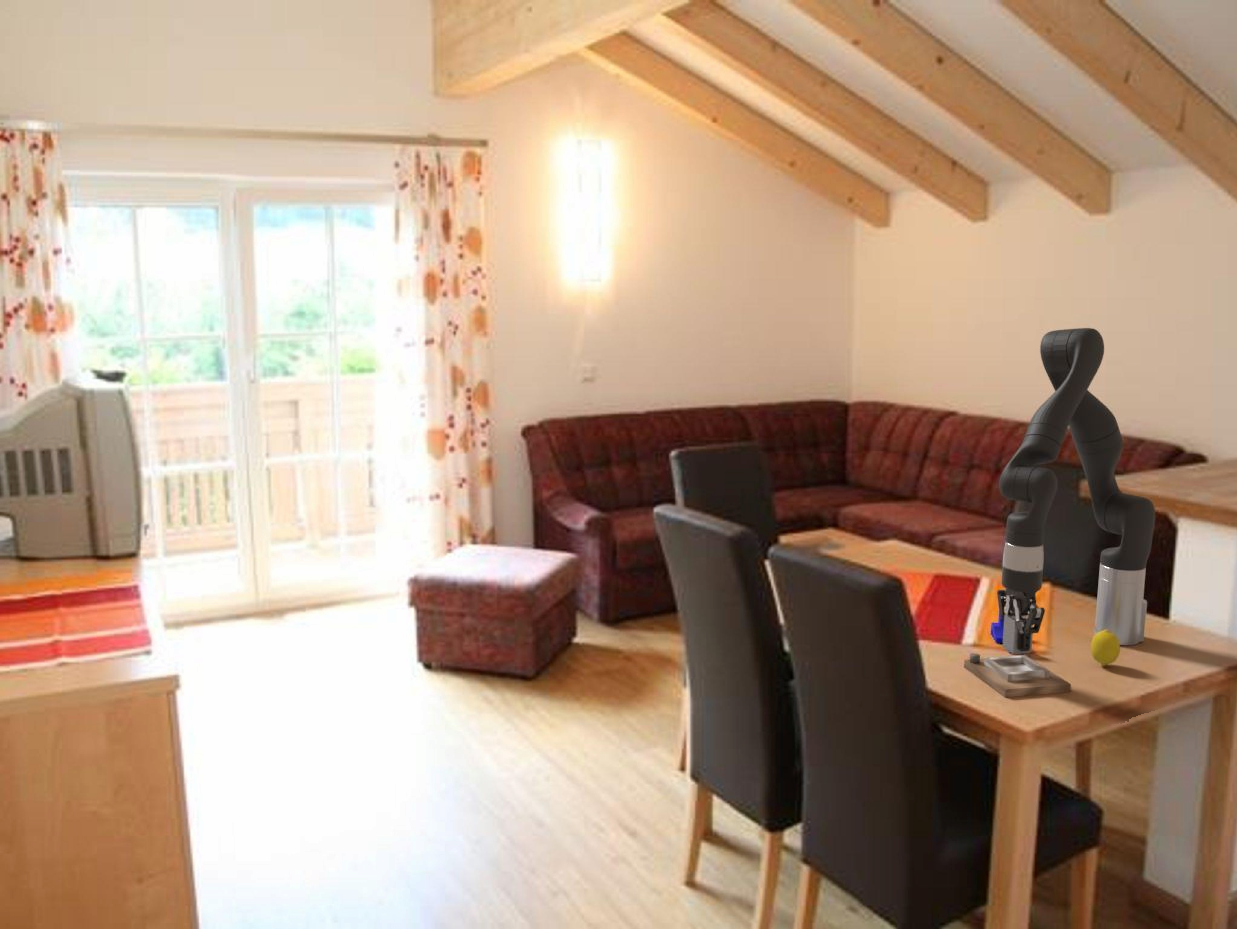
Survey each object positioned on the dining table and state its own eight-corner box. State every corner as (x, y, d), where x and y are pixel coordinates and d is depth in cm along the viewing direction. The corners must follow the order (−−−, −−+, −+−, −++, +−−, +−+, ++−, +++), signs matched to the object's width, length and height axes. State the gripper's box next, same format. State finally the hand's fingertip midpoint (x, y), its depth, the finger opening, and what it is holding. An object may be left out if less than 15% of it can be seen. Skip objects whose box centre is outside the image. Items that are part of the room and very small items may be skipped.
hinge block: (1020, 645, 209) (1022, 613, 208) (1031, 652, 205) (1033, 619, 204) (1002, 647, 209) (1004, 614, 207) (1013, 654, 205) (1015, 620, 203)
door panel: (1025, 662, 217) (1025, 648, 217) (1070, 691, 202) (1071, 676, 201) (963, 667, 215) (964, 653, 214) (1005, 697, 199) (1005, 682, 199)
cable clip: (990, 634, 234) (992, 609, 233) (1011, 635, 234) (1012, 610, 232) (1001, 653, 223) (1003, 627, 221) (1023, 654, 222) (1025, 628, 221)
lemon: (1116, 672, 211) (1119, 635, 210) (1087, 667, 214) (1090, 631, 212) (1119, 664, 216) (1123, 628, 214) (1091, 659, 219) (1094, 623, 217)
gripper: (1061, 573, 198) (1054, 658, 201) (1020, 554, 211) (1015, 633, 214) (1025, 575, 196) (1019, 660, 199) (986, 556, 210) (982, 636, 213)
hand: (1017, 646), depth 207 cm, fingers closed on hinge block, 4 cm apart
